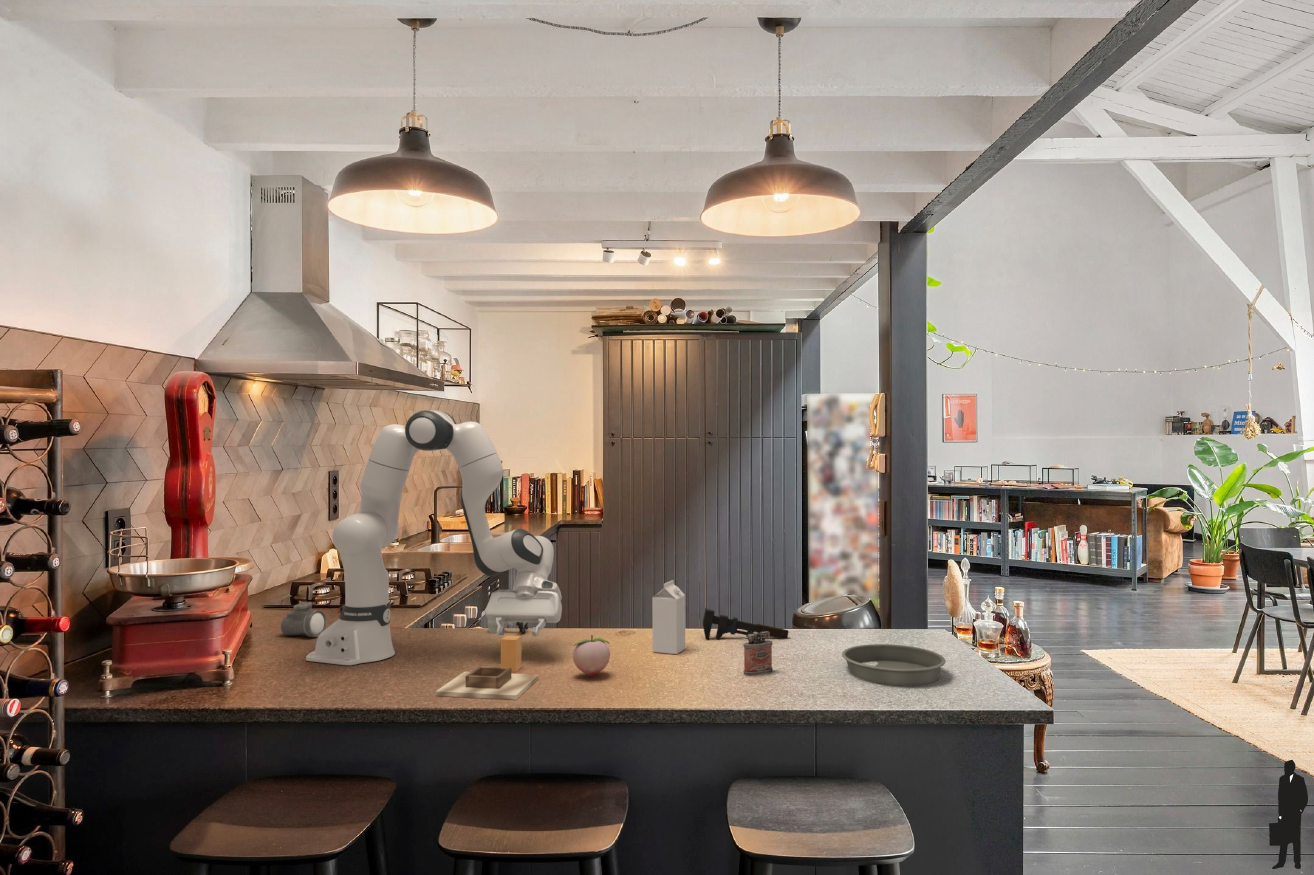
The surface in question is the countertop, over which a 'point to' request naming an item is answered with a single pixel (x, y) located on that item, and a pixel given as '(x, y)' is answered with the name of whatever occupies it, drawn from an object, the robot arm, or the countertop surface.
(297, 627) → the pipe fitting
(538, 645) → the countertop surface
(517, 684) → the socket board
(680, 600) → the milk carton
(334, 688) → the countertop surface
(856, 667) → the cake pan
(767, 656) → the lighter
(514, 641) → the orange cap block
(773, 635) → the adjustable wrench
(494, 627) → the valve
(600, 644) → the decorative fruit
